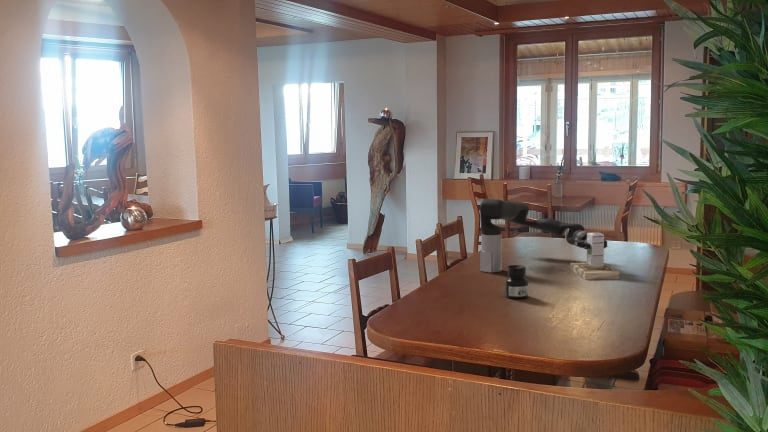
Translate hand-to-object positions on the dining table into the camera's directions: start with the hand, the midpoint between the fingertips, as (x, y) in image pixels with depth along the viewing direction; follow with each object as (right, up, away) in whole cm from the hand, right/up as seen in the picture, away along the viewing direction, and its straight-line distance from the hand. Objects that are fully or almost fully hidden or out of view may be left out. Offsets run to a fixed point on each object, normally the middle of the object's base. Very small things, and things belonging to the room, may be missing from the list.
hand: (597, 246), depth 310 cm
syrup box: (0, -9, +4) cm, 10 cm away
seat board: (0, -12, +4) cm, 13 cm away
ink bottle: (-42, -18, -35) cm, 57 cm away
